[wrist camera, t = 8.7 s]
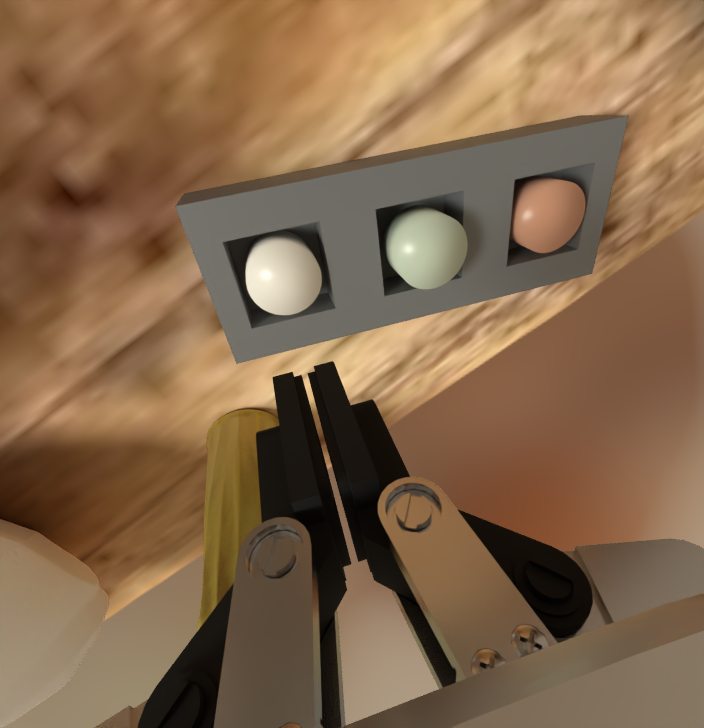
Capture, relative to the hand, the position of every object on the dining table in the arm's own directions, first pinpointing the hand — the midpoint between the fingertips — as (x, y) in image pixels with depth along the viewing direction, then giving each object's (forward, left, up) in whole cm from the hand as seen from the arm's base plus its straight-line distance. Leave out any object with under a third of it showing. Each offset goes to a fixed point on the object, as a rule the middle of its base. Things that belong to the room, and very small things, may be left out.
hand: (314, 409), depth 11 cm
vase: (+14, -6, -16) cm, 22 cm away
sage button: (+1, +8, -13) cm, 15 cm away
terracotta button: (0, +16, -14) cm, 21 cm away
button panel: (+1, +8, -15) cm, 17 cm away
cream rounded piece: (+1, 0, -14) cm, 14 cm away
